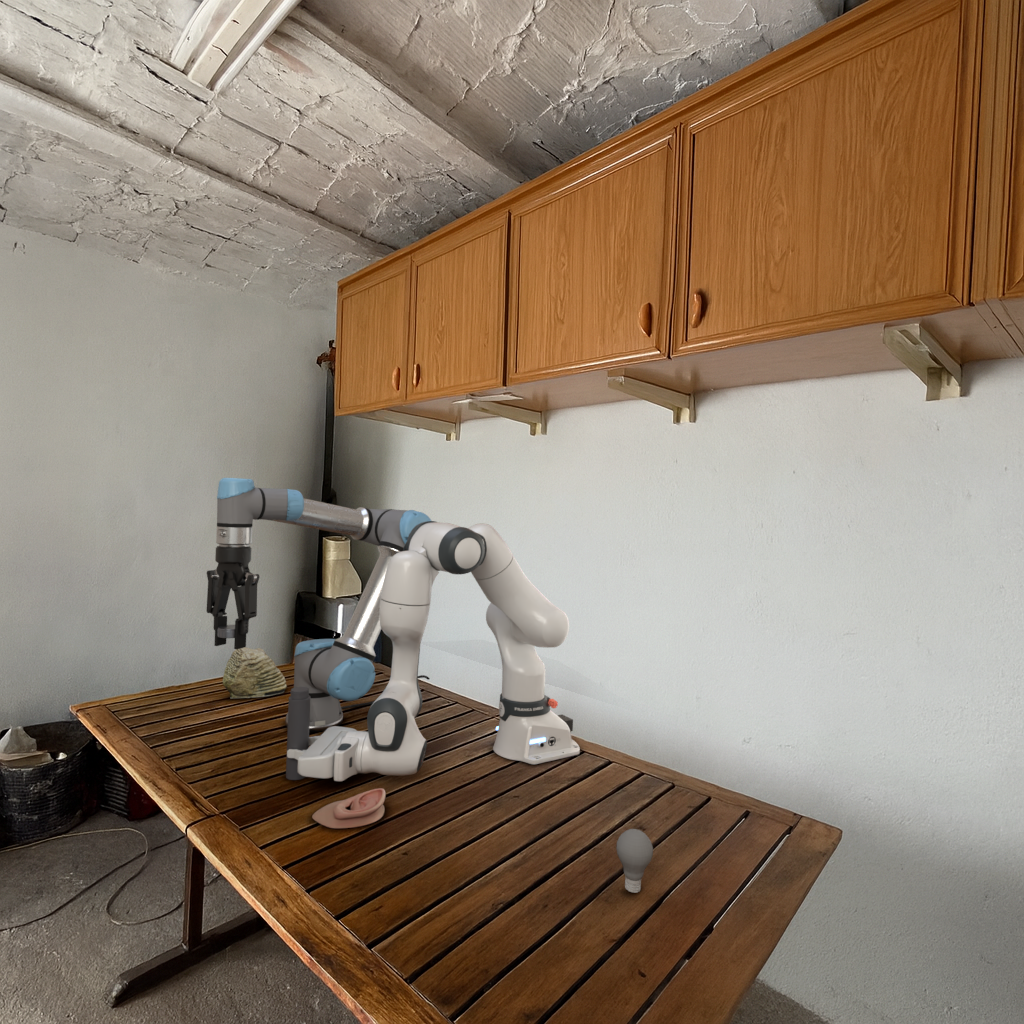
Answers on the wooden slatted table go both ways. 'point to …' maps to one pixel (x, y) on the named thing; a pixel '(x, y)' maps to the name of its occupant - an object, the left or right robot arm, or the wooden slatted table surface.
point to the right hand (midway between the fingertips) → (293, 747)
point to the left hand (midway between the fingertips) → (230, 646)
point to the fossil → (252, 674)
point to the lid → (226, 631)
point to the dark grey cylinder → (297, 728)
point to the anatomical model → (353, 810)
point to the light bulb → (634, 857)
